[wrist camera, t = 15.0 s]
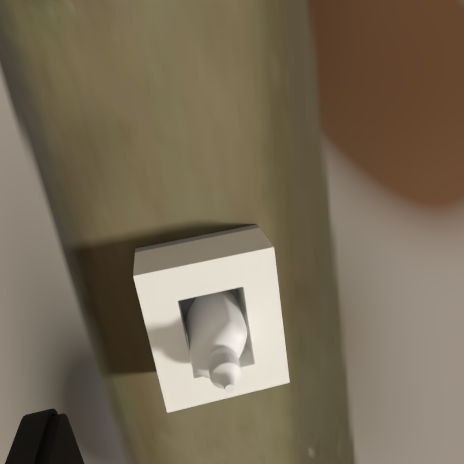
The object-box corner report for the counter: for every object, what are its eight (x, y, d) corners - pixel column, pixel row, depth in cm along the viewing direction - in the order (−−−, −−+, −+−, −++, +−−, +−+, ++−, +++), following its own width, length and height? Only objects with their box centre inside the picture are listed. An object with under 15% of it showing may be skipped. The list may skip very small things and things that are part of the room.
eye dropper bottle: (243, 310, 42) (276, 391, 31) (193, 336, 42) (208, 426, 31) (224, 275, 41) (252, 348, 30) (172, 302, 41) (180, 385, 30)
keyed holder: (135, 248, 39) (133, 276, 34) (256, 224, 41) (273, 247, 35) (165, 371, 44) (167, 412, 39) (272, 345, 46) (289, 382, 40)
